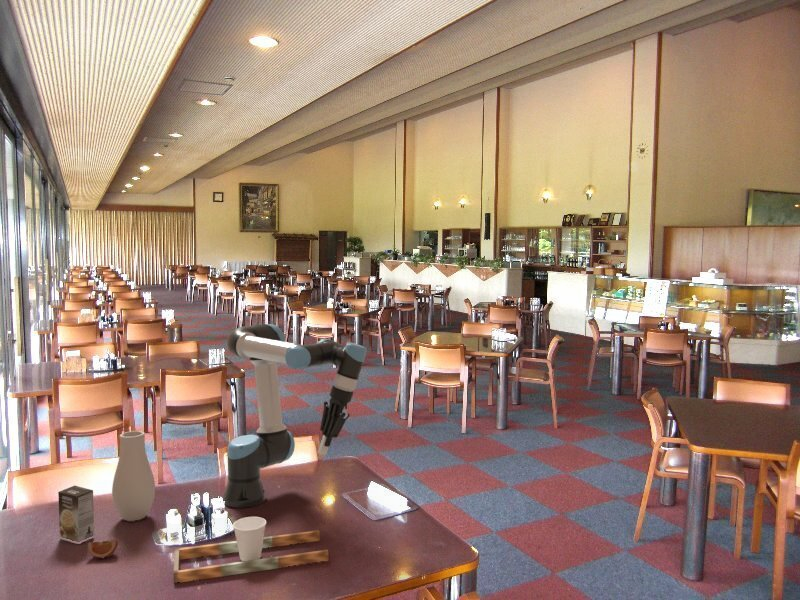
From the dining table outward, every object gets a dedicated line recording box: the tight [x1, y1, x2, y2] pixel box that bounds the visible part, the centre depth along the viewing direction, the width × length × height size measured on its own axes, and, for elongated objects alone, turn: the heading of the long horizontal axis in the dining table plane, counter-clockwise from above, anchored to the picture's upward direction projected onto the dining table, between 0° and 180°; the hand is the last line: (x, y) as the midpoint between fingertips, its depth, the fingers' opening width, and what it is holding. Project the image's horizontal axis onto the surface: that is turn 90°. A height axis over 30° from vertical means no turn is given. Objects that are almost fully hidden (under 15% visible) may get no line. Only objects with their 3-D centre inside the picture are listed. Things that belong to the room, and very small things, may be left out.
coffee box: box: [57, 485, 95, 542], centre depth 209 cm, size 9×6×16 cm
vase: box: [111, 430, 156, 522], centre depth 224 cm, size 14×14×30 cm
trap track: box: [173, 529, 329, 584], centre depth 196 cm, size 44×15×3 cm, turn 108°
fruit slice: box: [87, 539, 119, 559], centre depth 198 cm, size 8×7×5 cm
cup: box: [232, 516, 267, 562], centre depth 196 cm, size 10×10×11 cm
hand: (321, 454), depth 220 cm, fingers closed
